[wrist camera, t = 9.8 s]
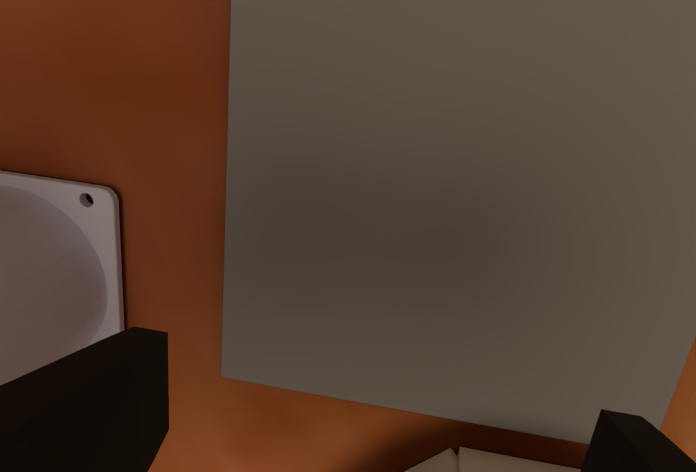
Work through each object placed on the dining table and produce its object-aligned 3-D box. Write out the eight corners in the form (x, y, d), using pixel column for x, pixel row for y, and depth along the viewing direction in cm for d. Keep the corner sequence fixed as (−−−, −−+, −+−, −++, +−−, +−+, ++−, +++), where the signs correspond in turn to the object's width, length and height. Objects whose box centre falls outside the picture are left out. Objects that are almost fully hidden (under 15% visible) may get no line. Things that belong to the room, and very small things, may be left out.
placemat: (224, 371, 21) (220, 377, 21) (238, -93, 16) (233, -97, 15) (645, 447, 20) (649, 455, 19) (830, -39, 14) (841, -40, 14)
